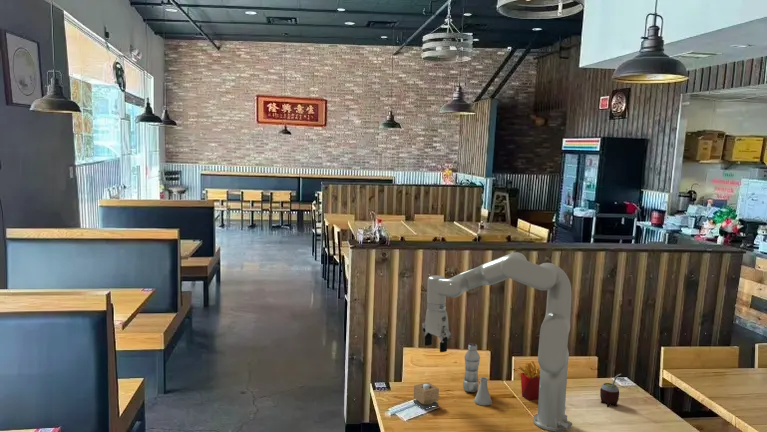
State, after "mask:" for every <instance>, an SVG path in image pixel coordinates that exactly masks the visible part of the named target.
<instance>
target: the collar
mask: <svg viewBox="0 0 767 432" xmlns="http://www.w3.org/2000/svg"><path fill="white" fill-rule="evenodd" d="M423 384H429V389H426V390H425V389H423ZM439 389H440V388H438V387H437V386H436V385H434V384H433V383H430V382H425V383H419V384H414V385H413V398H414V400H418V401H420V402H421V403H423V404H428V403H432V402H438V401H439V398H440V397H439V392H440V390H439Z"/></svg>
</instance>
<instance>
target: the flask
mask: <svg viewBox="0 0 767 432" xmlns="http://www.w3.org/2000/svg"><path fill="white" fill-rule="evenodd" d="M479 380H480V382H479V387H478V390H477V391H476V392H477V393H476V395H475V398H474V399H473V402H474V403H475V404H476V405H480V406H491V405H492V403H493V401H492V397H491V395H490V393H489V389H488V381H489V378H488V377H485V376H482V377H481V376H480V378H479Z"/></svg>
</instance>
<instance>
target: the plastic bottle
mask: <svg viewBox="0 0 767 432" xmlns="http://www.w3.org/2000/svg"><path fill="white" fill-rule="evenodd" d="M467 346H468V347H467V352H465V355H464V378H463V381H462V382H463V383H462V386H463V390H464V391H465V392H466V393H467V392H468V393H475V392H478V390H479V387H480V382H479V365H480V360H481V355H480V353H479V352H478V351H477V350H478V344H476V343H469V344H468V345H467Z"/></svg>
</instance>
